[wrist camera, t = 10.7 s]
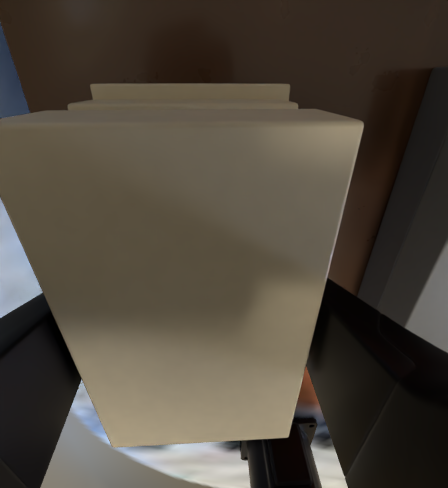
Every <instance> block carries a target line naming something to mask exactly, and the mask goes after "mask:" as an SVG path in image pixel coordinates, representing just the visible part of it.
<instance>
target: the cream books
mask: <svg viewBox="0 0 448 488" xmlns="http://www.w3.org/2000/svg"><path fill="white" fill-rule="evenodd" d="M90 88H91V93H92V97H93V100H88V101H82V102H75V103H70V104H68V110H209V109H298V104H297V103H295V102H291V101H289V94H290V85H289V84H212V83H109V84H91V85H90Z"/></svg>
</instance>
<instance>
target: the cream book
mask: <svg viewBox="0 0 448 488" xmlns="http://www.w3.org/2000/svg"><path fill="white" fill-rule="evenodd" d="M363 128H364V123H363V122H362V121H360V120H358V119H354V118H350V117H346V116H342V115H338V114H334V113H330V112H326V111H322V110H318V109H209V110H50V111H40V112H34V113H29V114H23V115H17V116H12V117H6V118H0V197H1V200H2V202H3V204H4V206H5V208H6V211H7V213H8V215H9V217H10V220H11V222H12V224H13V226H14V229H15V231H16V233H17V235H18V238H19V240H20V242H21V244H22V247H23V249H24V251H25V253H26V255H27V258H28V260H29V262H30V264H31V267H32V269H33V271H34V273H35V276H36V278H37V280H38V282H39V285H40V287H41V289H42V291H43V293H44V296H45V298H46V300H47V302H48V305H49V307H50V309H51V311H52V314H53V316H54V318H55V320H56V323H57V325H58V327H59V329H60V331H61V334H62V336H63V338H64V340H65V343H66V345H67V347H68V349H69V352H70V354H71V356H72V358H73V361H74V363H75V365H76V367H77V370H78V372H79V374H80V376H81V378H82V381H83V383H84V385H85V387H86V390H87V392H88V394H89V396H90V399H91V401H92V403H93V405H94V408H95V410H96V412H97V414H98V416H99V419H100V421H101V423H102V425H103V428H104V430H105V432H106V434H107V437H108V439H109V441H110V443H111V446H112V447H132V446H150V445H167V444H185V443H203V442H220V441H238V440H256V439H273V438H287V437H289V433H290V429H291V425H292V421H293V417H294V412H295V408H296V404H297V400H298V396H299V392H300V388H301V384H302V379H303V375H304V371H305V367H306V363H307V359H308V355H309V351H310V346H311V342H312V338H313V334H314V330H315V326H316V322H317V318H318V313H319V309H320V305H321V301H322V297H323V293H324V289H325V285H326V281H327V276H328V272H329V268H330V264H331V260H332V256H333V252H334V248H335V243H336V239H337V235H338V231H339V227H340V223H341V219H342V215H343V210H344V206H345V202H346V198H347V194H348V190H349V186H350V182H351V177H352V173H353V169H354V165H355V161H356V157H357V153H358V149H359V144H360V140H361V136H362V132H363Z"/></svg>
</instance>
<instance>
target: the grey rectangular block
mask: <svg viewBox="0 0 448 488" xmlns="http://www.w3.org/2000/svg"><path fill="white" fill-rule="evenodd" d="M357 297H358V298H360V299H361V300H363V301H364V302H366V303H367V304H369V305H370V306H372V307H373V308H375V309H377V310H378V311H380V312H381V314H384V315H386V316H387V317H389V318H390V319H392V320H393V321H395V322H397V323H398V324H400V325H401V326H403V327H404V328H406V329H408V330H409V331H411V332H412V333H414V334H416V335H418V336H419V337H421V338H423V339H424V340H426V341H428V342H430V343H431V344H433V345H435V346H436V347H438V348H440V349H442V350H444V351H445V352H447V353H448V66H447V67H435V68H433V70H432V72H431V75H430V78H429V81H428V84H427V87H426V90H425V93H424V96H423V99H422V102H421V105H420V108H419V111H418V114H417V117H416V120H415V123H414V126H413V129H412V132H411V135H410V138H409V141H408V144H407V147H406V150H405V153H404V156H403V159H402V162H401V165H400V168H399V171H398V174H397V178H396V181H395V184H394V187H393V190H392V193H391V196H390V199H389V202H388V205H387V208H386V211H385V214H384V217H383V220H382V223H381V226H380V229H379V232H378V235H377V238H376V241H375V244H374V247H373V250H372V253H371V256H370V259H369V262H368V265H367V268H366V271H365V274H364V277H363V280H362V283H361V286H360V289H359V292H358V295H357Z"/></svg>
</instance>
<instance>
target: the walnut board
mask: <svg viewBox="0 0 448 488" xmlns="http://www.w3.org/2000/svg"><path fill="white" fill-rule="evenodd" d="M0 23H1V26H2V29H3V32H4V35H5V38H6V41H7V44H8V47H9V50H10V53H11V56H12V59H13V62H14V65H15V68H16V71H17V74H18V77H19V80H20V83H21V86H22V89H23V92H24V95H25V99H26V102H27V105H28V108H29V111H30V113H34V112H40V111H50V110H68V104H70V103H75V102H82V101H88V100H93V97H92V93H91V88H90V85H91V84H109V83H212V84H289V85H290V94H289V101H291V102H295V103H297V104H298V109H318V110H322V111H326V112H330V113H334V114H338V115H342V116H346V117H350V118H354V119H358V120H360V121H362V122H363V123H364V128H363V132H362V136H361V140H360V144H359V149H358V153H357V157H356V161H355V165H354V169H353V173H352V177H351V182H350V186H349V190H348V194H347V198H346V202H345V206H344V210H343V215H342V219H341V223H340V227H339V231H338V235H337V239H336V243H335V248H334V252H333V256H332V260H331V264H330V268H329V272H328V276H327V277H328V278H329V279H331V280H332V281H334V282H335V283H337V284H338V285H340V286H341V287H343V288H344V289H346V290H348V291H349V292H351V293H352V294H354V295H355V296H357V295H358V292H359V289H360V286H361V283H362V280H363V277H364V274H365V271H366V268H367V265H368V262H369V259H370V256H371V253H372V250H373V247H374V244H375V241H376V238H377V235H378V232H379V229H380V226H381V223H382V220H383V217H384V214H385V211H386V208H387V205H388V202H389V199H390V196H391V193H392V190H393V187H394V184H395V181H396V178H397V174H398V171H399V168H400V165H401V162H402V159H403V156H404V153H405V150H406V147H407V144H408V141H409V138H410V135H411V132H412V129H413V126H414V123H415V120H416V117H417V114H418V111H419V108H420V105H421V102H422V99H423V96H424V93H425V90H426V87H427V84H428V81H429V78H430V75H431V72H432V70H433V68H435V67H447V66H448V0H0Z"/></svg>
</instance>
